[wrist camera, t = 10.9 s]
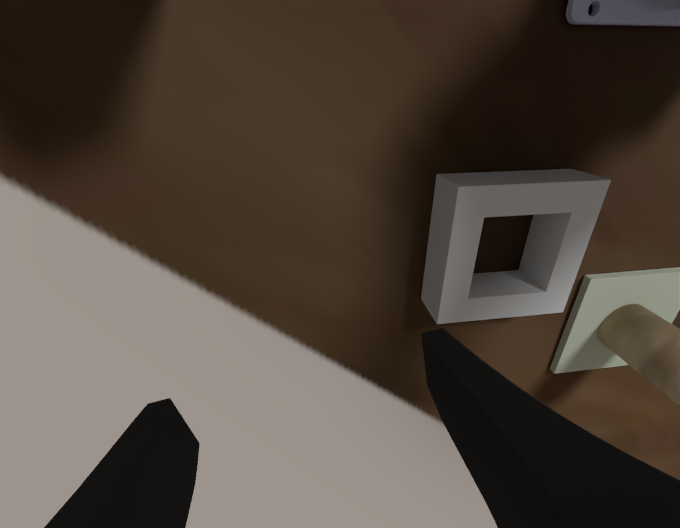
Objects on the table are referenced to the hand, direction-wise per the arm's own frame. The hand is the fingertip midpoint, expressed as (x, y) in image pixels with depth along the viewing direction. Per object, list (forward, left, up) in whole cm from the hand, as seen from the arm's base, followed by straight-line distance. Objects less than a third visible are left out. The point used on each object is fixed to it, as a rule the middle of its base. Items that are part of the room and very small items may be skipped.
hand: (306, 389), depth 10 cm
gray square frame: (-11, 0, -9) cm, 14 cm away
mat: (-22, +7, -9) cm, 25 cm away
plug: (-22, +7, -9) cm, 25 cm away
